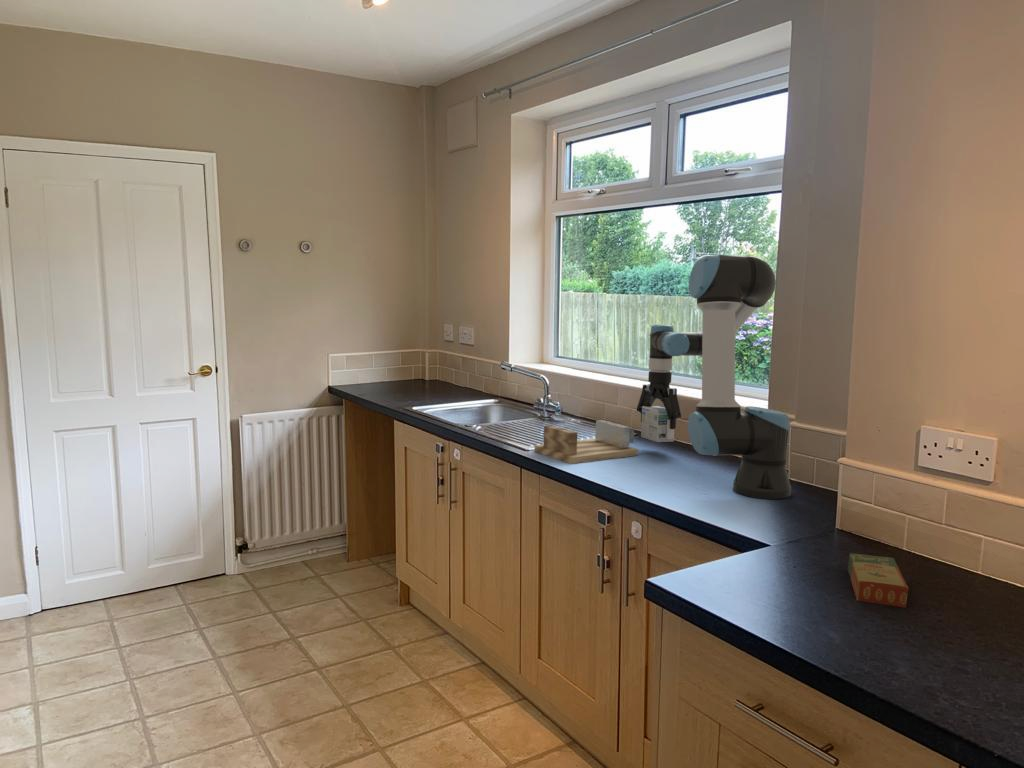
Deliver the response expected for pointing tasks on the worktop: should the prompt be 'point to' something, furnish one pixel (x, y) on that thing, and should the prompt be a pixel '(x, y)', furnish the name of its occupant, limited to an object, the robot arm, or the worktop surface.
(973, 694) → the worktop surface
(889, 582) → the carton
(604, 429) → the sliding jaw
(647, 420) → the light bulb box
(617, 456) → the vise
